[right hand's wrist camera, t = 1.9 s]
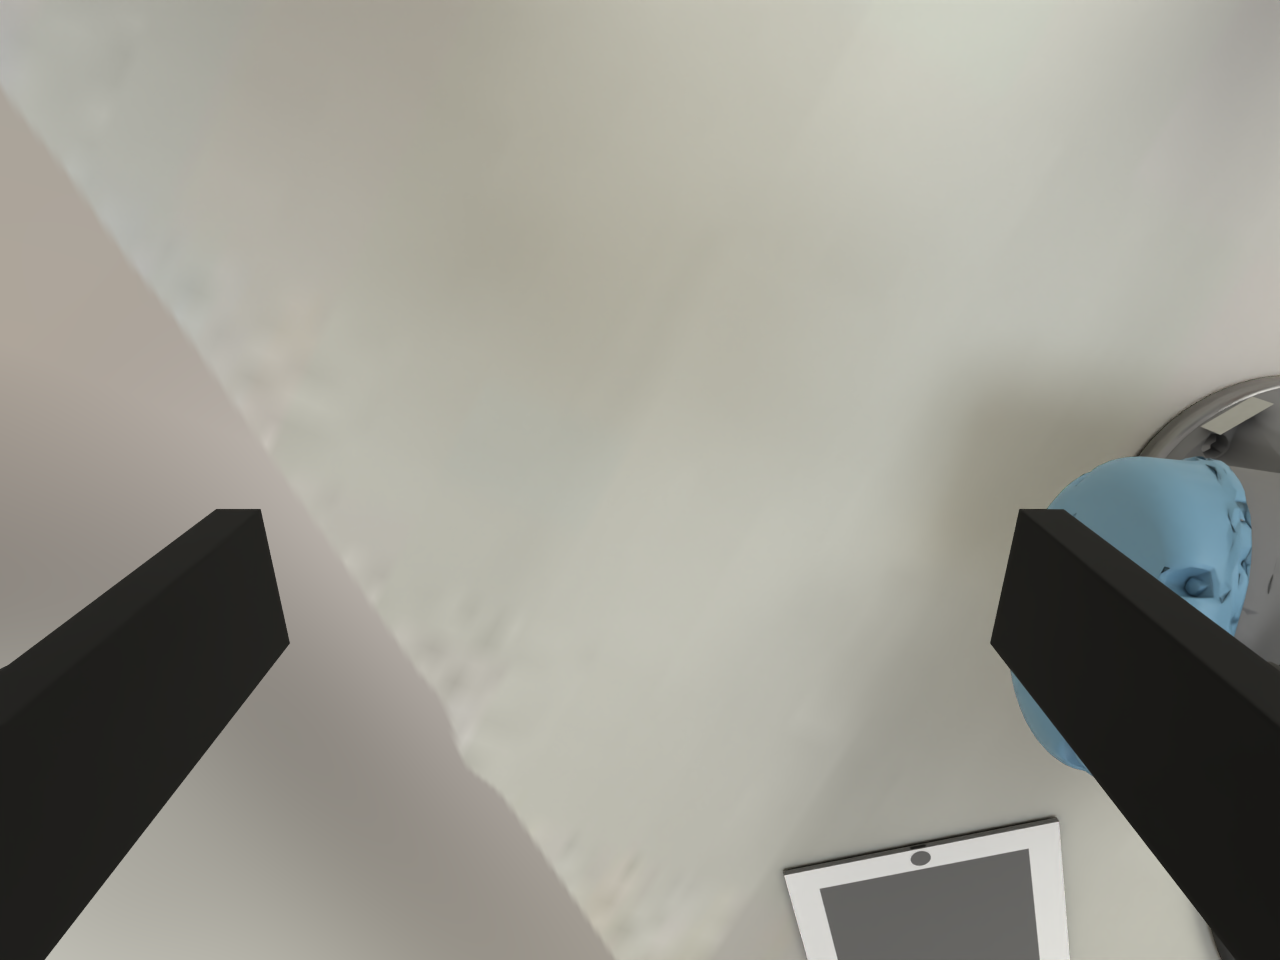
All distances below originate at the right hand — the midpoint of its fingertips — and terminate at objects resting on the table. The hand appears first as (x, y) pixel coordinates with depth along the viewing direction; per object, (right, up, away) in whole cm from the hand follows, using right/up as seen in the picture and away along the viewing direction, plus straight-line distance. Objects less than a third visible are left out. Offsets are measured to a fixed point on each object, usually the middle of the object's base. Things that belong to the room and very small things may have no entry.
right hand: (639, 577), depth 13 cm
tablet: (+25, -39, +46) cm, 65 cm away
